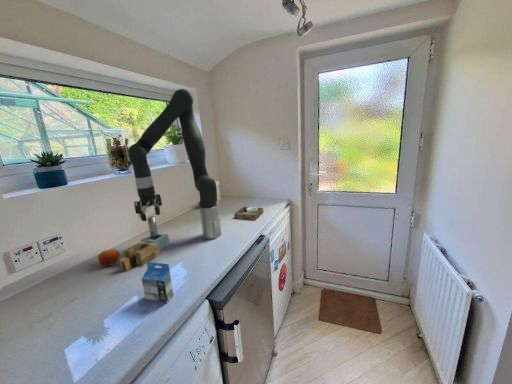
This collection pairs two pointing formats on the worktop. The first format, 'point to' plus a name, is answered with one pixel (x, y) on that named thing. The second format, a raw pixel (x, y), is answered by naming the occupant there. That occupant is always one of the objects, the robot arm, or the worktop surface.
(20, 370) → the worktop surface
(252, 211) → the teacup
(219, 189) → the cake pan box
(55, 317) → the worktop surface
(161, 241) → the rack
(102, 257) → the fruit
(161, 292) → the blue retail carton
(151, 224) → the peg
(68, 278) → the worktop surface
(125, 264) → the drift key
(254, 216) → the cup corral
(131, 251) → the socket block
